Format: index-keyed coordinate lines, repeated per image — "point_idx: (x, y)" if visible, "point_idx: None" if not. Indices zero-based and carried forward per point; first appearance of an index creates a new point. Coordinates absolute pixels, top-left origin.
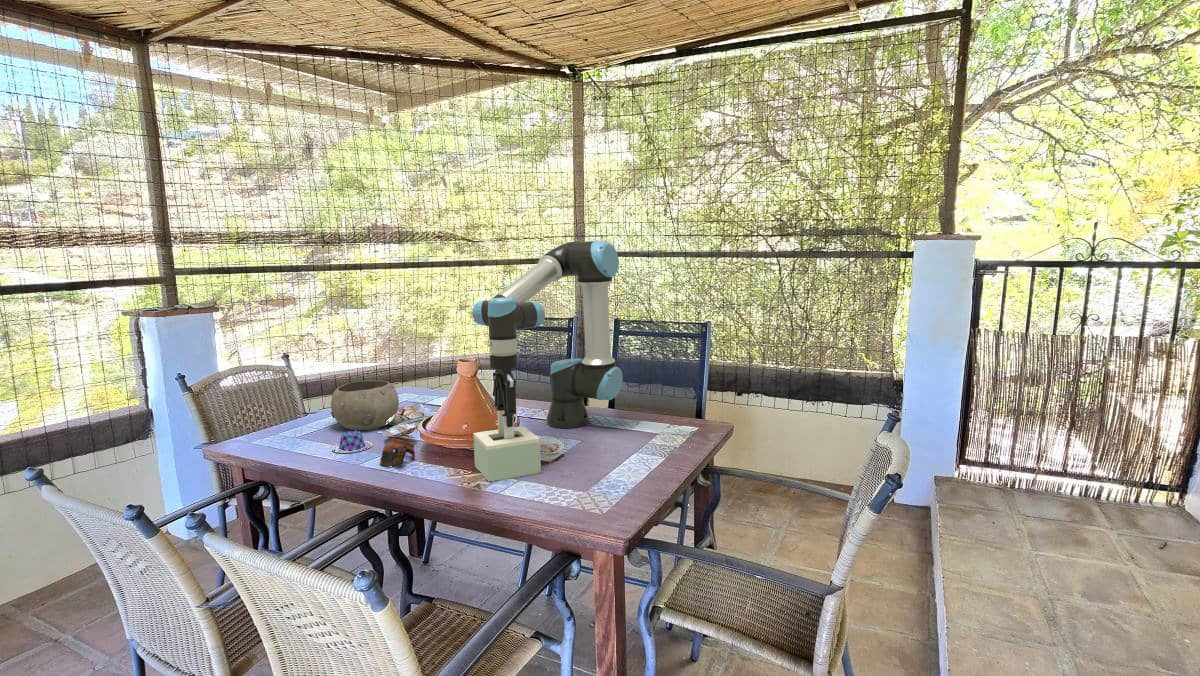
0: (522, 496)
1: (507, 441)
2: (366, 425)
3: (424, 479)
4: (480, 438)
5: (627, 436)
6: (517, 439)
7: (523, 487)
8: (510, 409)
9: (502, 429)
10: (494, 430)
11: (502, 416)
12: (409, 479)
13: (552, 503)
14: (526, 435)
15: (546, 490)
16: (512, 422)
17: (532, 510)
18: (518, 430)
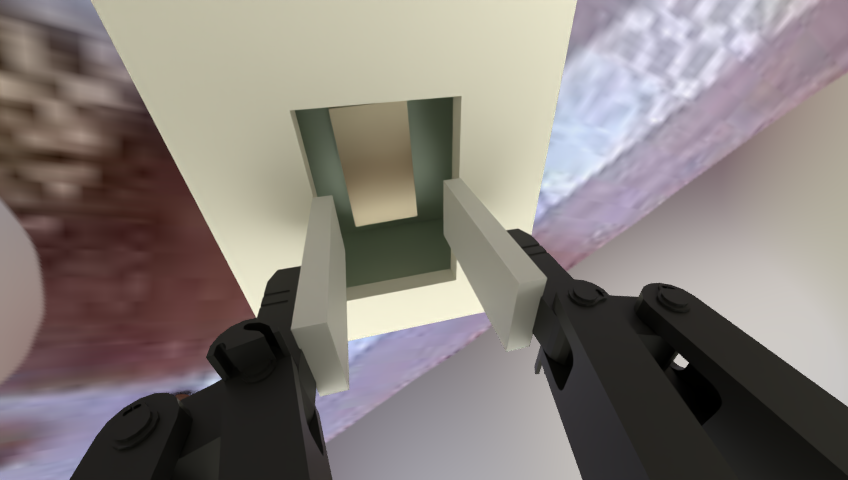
0: (612, 151)
1: (504, 223)
2: None
3: (367, 353)
4: (389, 327)
5: None
6: (503, 164)
7: (559, 131)
8: (703, 376)
9: (340, 245)
10: (244, 267)
11: (341, 315)
12: (354, 376)
13: (713, 79)
14: (452, 77)
15: (632, 60)
16: (543, 250)
17: (695, 148)
18: (285, 103)
